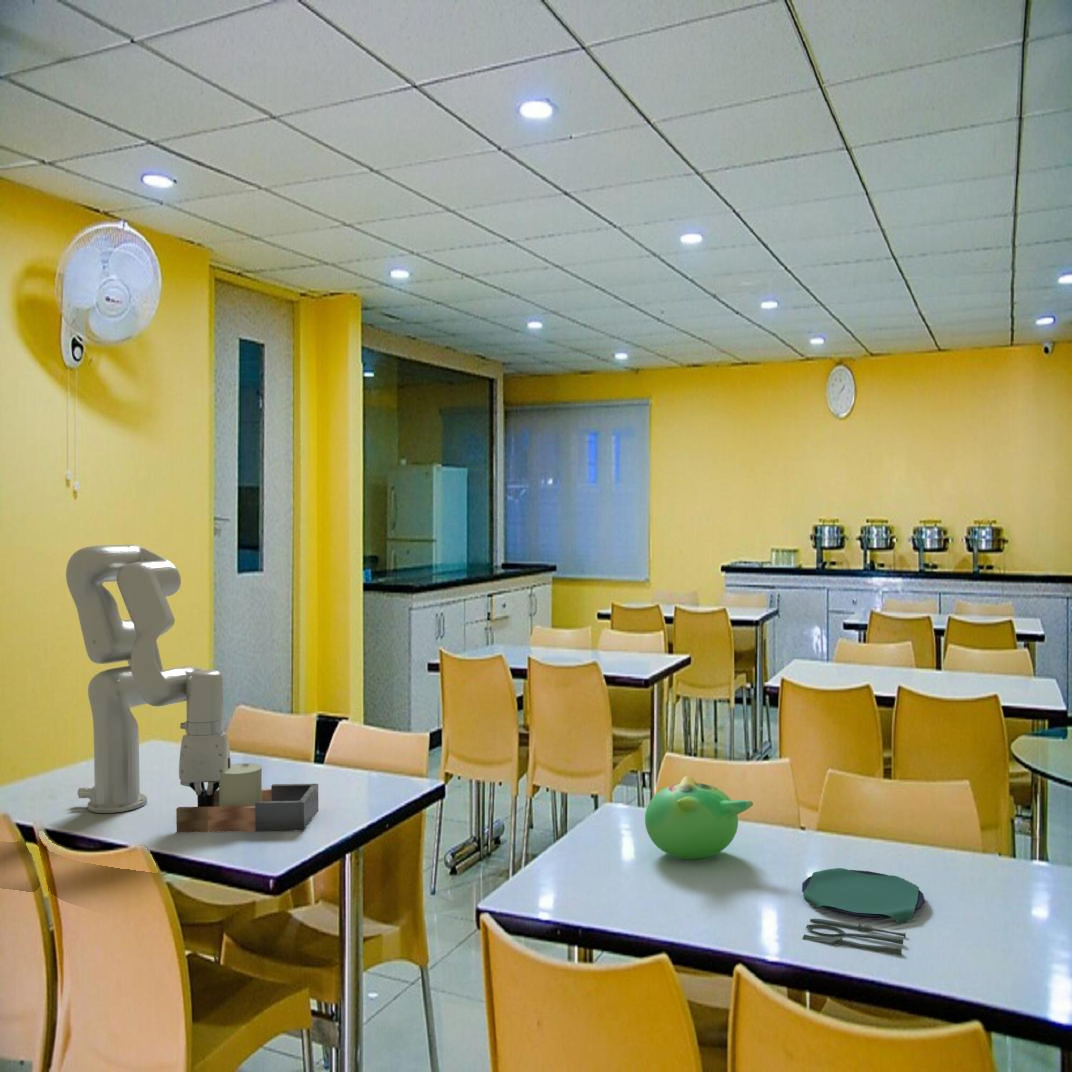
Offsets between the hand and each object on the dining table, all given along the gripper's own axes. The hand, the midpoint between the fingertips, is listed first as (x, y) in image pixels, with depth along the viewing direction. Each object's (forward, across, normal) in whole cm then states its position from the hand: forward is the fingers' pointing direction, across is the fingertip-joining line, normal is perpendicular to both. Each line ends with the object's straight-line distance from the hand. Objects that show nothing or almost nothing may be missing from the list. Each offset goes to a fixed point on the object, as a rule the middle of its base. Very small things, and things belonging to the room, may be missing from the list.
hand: (206, 811), depth 209 cm
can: (+2, +7, 0) cm, 8 cm away
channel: (+2, +4, 0) cm, 5 cm away
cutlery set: (+3, +124, -51) cm, 135 cm away
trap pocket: (+2, +18, 0) cm, 18 cm away
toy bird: (+3, +102, -25) cm, 105 cm away
